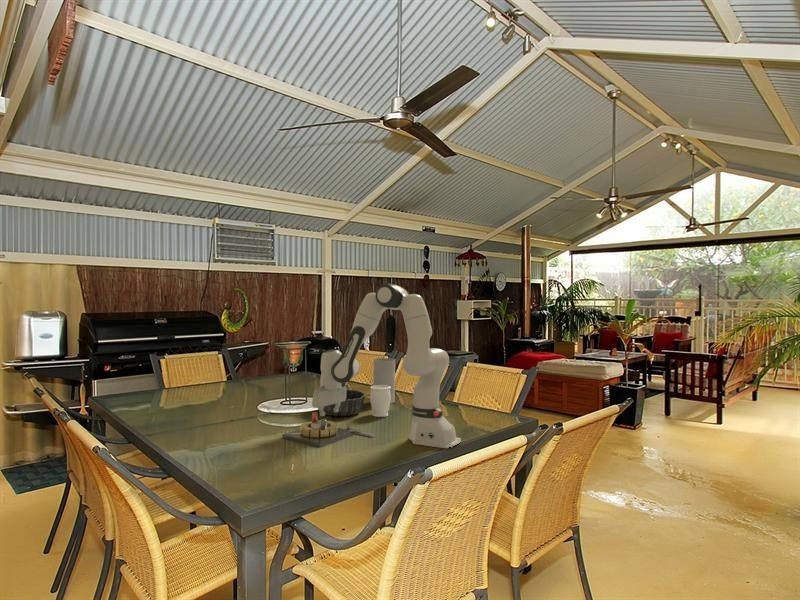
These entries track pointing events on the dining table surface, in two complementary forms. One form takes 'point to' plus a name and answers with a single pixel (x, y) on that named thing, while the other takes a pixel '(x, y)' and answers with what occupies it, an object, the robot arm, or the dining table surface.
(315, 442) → the cap plate
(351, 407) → the bundt pan
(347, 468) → the dining table surface
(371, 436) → the spanner
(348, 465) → the dining table surface
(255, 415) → the dining table surface
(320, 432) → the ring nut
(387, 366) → the cylinder vase
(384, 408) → the jar
